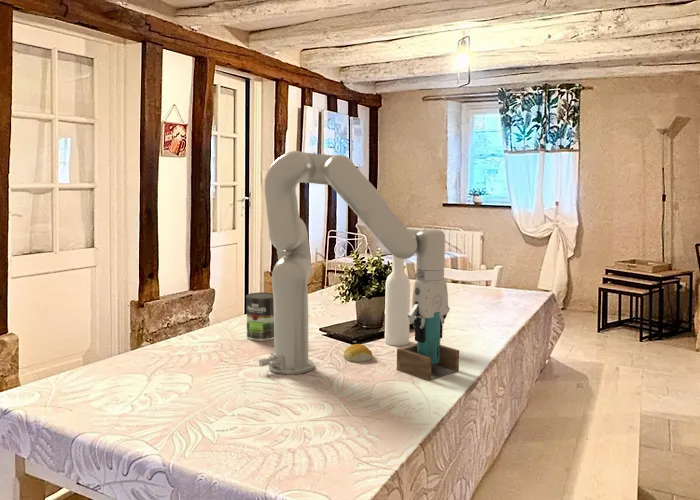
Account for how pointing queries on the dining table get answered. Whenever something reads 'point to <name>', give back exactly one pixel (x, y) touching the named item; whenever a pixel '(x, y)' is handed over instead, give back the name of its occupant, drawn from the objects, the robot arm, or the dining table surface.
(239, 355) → the dining table surface
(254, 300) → the coffee can
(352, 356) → the bread roll
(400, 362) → the u rest
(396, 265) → the bottle
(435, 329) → the beverage bottle
